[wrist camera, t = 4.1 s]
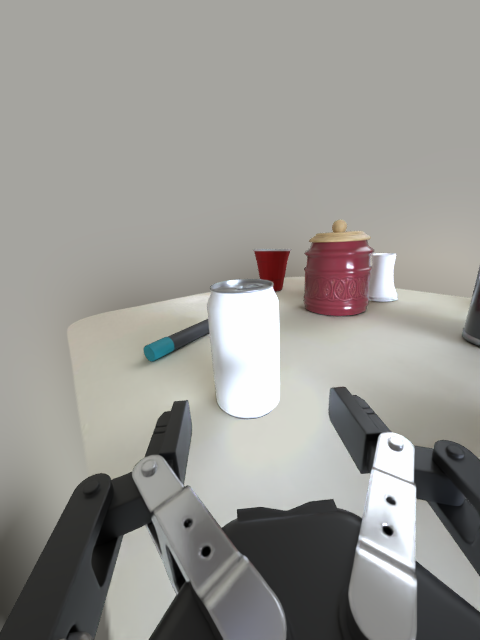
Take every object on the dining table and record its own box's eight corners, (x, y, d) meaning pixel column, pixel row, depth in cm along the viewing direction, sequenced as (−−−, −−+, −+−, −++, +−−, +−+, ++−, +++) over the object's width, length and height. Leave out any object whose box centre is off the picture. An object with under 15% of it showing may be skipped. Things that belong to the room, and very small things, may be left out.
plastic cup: (299, 288, 75) (299, 246, 71) (274, 295, 68) (274, 249, 64) (271, 284, 82) (270, 246, 79) (247, 290, 76) (245, 249, 72)
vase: (355, 295, 63) (358, 254, 60) (384, 292, 64) (389, 251, 60) (372, 302, 56) (377, 256, 53) (405, 300, 56) (412, 254, 53)
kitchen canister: (327, 321, 47) (332, 218, 41) (292, 304, 58) (293, 223, 53) (383, 311, 50) (395, 215, 45) (339, 297, 62) (345, 220, 56)
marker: (214, 329, 47) (208, 318, 47) (222, 325, 46) (216, 313, 46) (149, 363, 36) (141, 348, 36) (157, 358, 34) (148, 343, 34)
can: (208, 392, 28) (195, 284, 24) (260, 376, 30) (256, 275, 26) (232, 430, 22) (220, 297, 18) (292, 406, 25) (294, 285, 21)
